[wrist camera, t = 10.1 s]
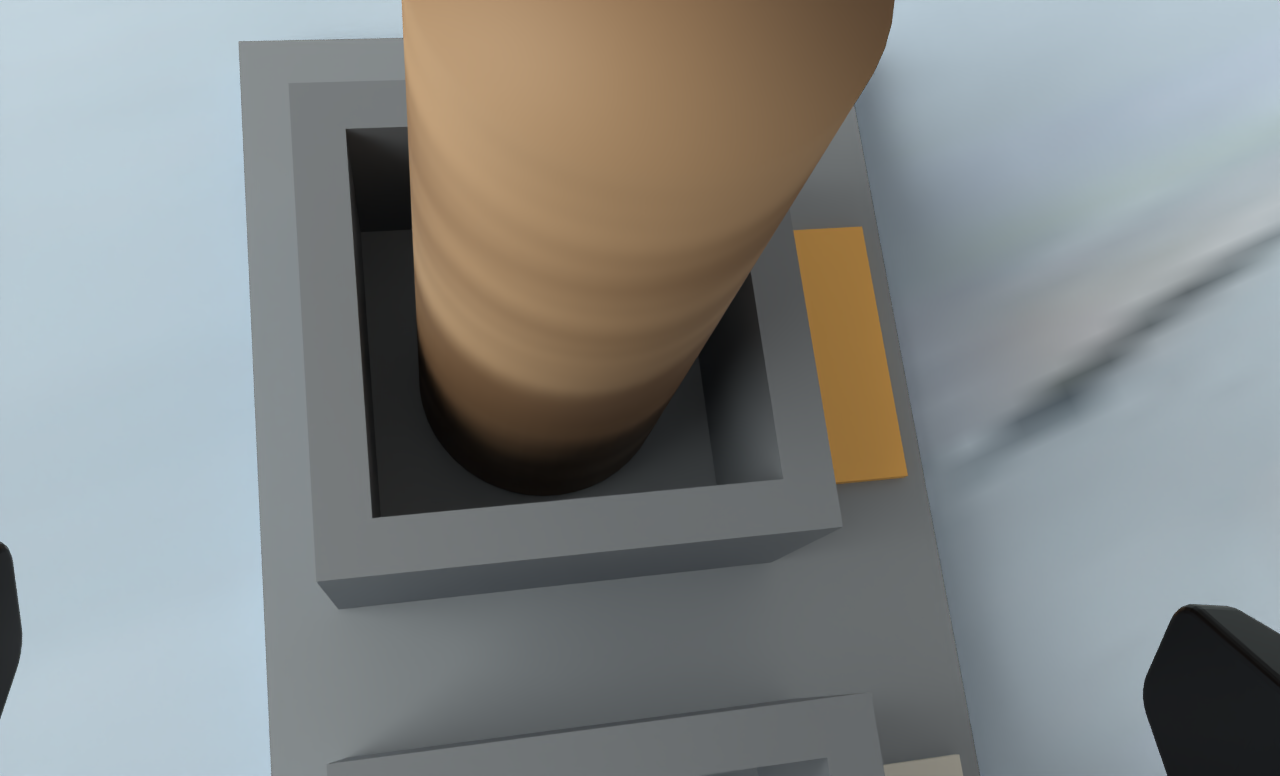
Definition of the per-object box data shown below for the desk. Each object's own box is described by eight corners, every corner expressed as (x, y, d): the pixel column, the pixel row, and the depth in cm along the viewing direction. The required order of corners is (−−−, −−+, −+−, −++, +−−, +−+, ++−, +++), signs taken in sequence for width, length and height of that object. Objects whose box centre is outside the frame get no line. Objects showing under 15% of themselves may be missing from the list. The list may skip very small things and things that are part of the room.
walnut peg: (630, 523, 21) (849, 238, 10) (387, 458, 21) (330, 86, 10) (683, 301, 23) (926, -166, 11) (457, 238, 22) (478, -309, 11)
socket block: (1036, 1208, 20) (1219, 1353, 16) (306, 1372, 18) (261, 1602, 13) (825, 54, 26) (912, -97, 21) (246, 68, 24) (198, -97, 19)
